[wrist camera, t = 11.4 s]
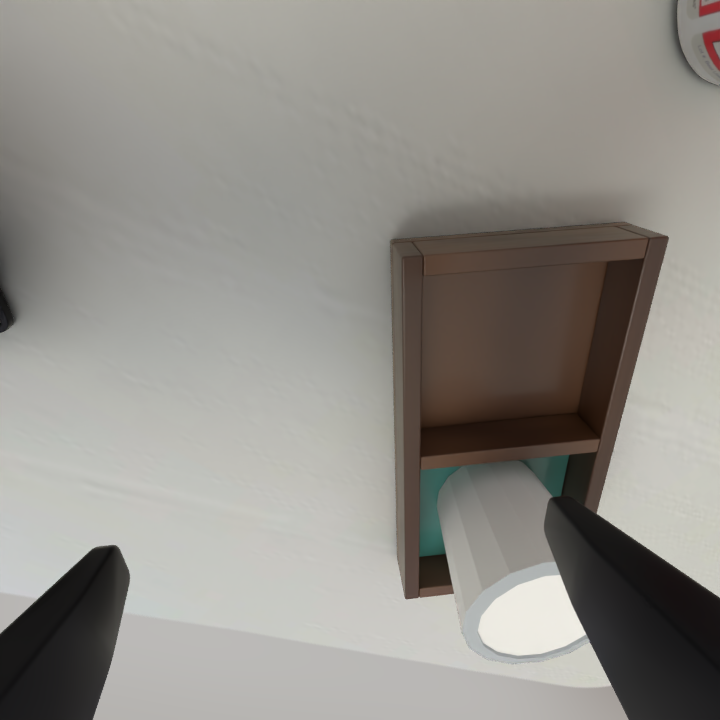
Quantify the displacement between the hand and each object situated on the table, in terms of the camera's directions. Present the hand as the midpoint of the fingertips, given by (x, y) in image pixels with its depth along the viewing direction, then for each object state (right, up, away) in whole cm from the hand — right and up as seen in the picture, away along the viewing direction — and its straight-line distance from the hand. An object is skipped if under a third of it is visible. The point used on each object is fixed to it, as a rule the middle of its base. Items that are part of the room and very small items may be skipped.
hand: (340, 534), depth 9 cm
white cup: (+7, -4, +16) cm, 18 cm away
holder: (+7, 0, +14) cm, 16 cm away
